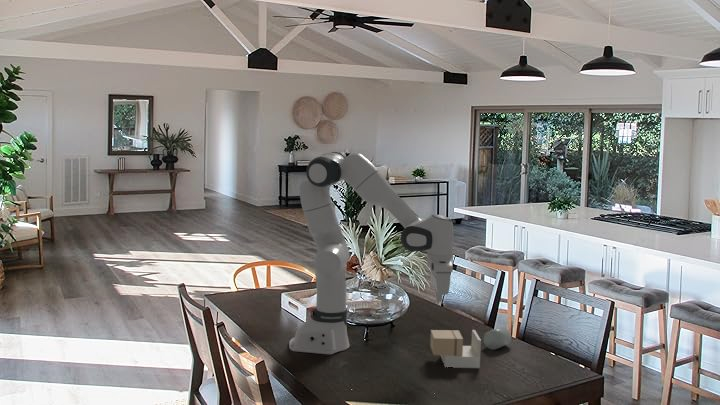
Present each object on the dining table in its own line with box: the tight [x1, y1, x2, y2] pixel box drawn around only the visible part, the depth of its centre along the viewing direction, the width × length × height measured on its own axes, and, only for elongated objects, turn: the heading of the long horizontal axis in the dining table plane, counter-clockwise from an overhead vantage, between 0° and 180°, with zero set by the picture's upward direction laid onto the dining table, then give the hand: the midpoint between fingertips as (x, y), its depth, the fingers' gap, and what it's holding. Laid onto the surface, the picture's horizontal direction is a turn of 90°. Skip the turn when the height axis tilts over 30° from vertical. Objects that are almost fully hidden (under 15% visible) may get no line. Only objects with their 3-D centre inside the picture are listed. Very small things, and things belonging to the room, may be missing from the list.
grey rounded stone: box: [483, 326, 512, 351], centre depth 247 cm, size 7×7×8 cm
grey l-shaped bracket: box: [440, 329, 482, 369], centre depth 231 cm, size 12×11×10 cm
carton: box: [429, 329, 464, 356], centre depth 230 cm, size 10×9×6 cm
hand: (438, 300), depth 228 cm, fingers closed
